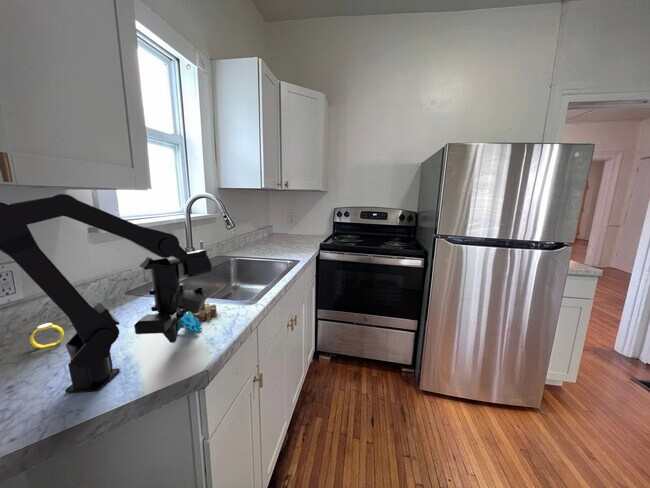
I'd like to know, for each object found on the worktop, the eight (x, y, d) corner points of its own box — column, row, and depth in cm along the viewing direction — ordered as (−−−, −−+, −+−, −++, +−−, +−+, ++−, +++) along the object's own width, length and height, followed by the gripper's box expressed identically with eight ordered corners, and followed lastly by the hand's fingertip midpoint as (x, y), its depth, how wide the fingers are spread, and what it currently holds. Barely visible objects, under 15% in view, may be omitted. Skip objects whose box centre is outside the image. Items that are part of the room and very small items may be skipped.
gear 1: (198, 334, 72) (168, 311, 70) (183, 351, 71) (151, 328, 69) (207, 320, 82) (180, 300, 80) (193, 335, 82) (166, 315, 80)
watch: (32, 353, 67) (25, 331, 65) (36, 348, 69) (28, 327, 68) (64, 343, 70) (58, 323, 69) (67, 339, 72) (60, 319, 71)
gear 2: (211, 321, 82) (209, 301, 81) (183, 322, 81) (180, 302, 80) (220, 309, 90) (219, 291, 89) (194, 310, 90) (192, 292, 89)
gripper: (183, 296, 56) (190, 362, 59) (213, 271, 74) (217, 323, 77) (128, 297, 55) (137, 365, 58) (172, 272, 74) (177, 325, 76)
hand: (173, 341), depth 67 cm, fingers closed
